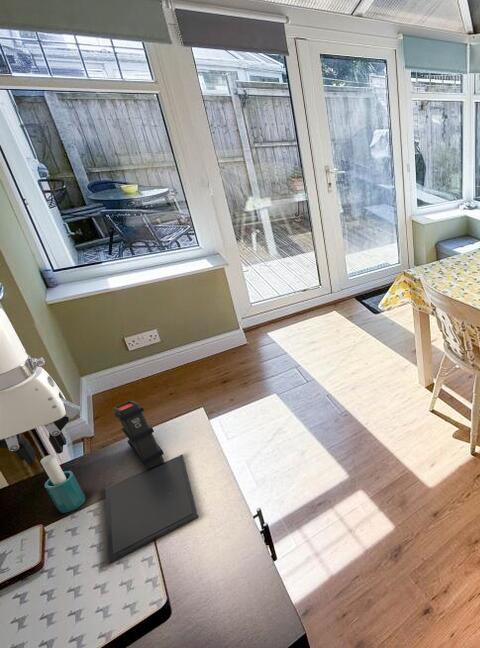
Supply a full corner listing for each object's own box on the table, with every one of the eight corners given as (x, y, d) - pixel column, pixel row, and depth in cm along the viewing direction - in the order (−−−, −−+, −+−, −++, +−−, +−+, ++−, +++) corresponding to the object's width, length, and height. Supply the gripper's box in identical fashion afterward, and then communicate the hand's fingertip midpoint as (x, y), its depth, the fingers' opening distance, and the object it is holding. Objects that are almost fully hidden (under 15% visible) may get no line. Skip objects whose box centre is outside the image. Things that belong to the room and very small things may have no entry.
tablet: (109, 563, 73) (107, 560, 72) (106, 491, 85) (104, 487, 85) (198, 517, 81) (197, 513, 80) (183, 457, 93) (182, 454, 93)
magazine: (148, 475, 87) (117, 412, 85) (139, 465, 95) (110, 408, 93) (170, 463, 90) (140, 402, 88) (158, 455, 98) (131, 399, 96)
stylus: (65, 508, 81) (39, 464, 76) (65, 501, 82) (40, 458, 77) (78, 502, 82) (53, 459, 77) (78, 496, 83) (54, 453, 78)
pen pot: (58, 516, 80) (43, 491, 77) (59, 503, 82) (45, 478, 80) (85, 504, 82) (72, 480, 79) (85, 492, 85) (72, 467, 82)
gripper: (69, 347, 77) (105, 421, 85) (-72, 385, 67) (-18, 465, 74) (68, 366, 72) (106, 443, 80) (-85, 410, 62) (-25, 494, 69)
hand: (46, 453), depth 77 cm, fingers open, 3 cm apart
